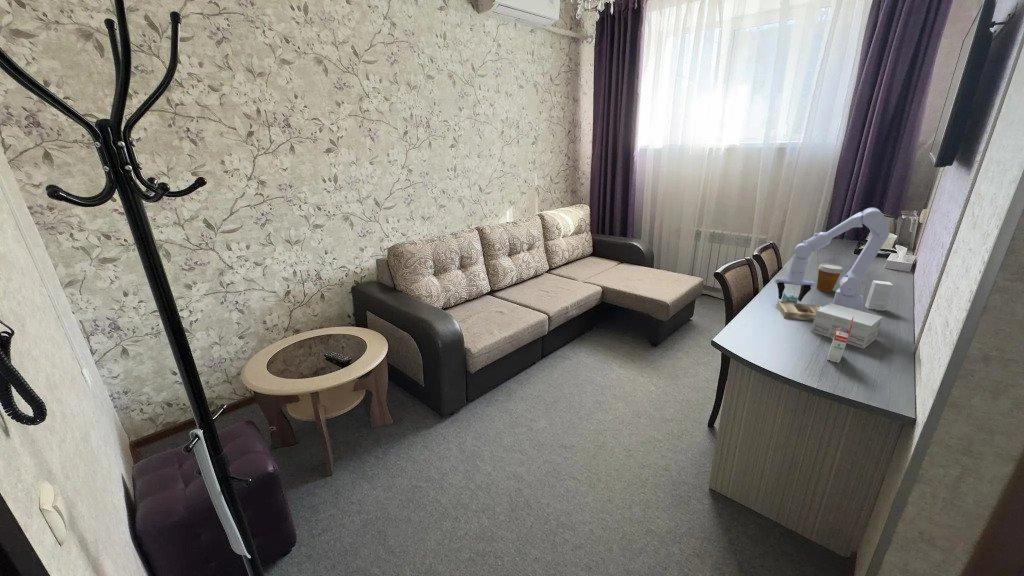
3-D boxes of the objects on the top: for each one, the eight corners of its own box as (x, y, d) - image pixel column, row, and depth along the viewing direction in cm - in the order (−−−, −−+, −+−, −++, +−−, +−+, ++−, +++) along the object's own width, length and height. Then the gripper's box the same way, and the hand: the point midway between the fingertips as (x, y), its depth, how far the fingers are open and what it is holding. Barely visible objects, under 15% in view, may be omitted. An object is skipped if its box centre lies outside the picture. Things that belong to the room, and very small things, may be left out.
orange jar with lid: (815, 291, 198) (822, 267, 194) (810, 285, 206) (816, 262, 202) (839, 294, 195) (846, 270, 191) (833, 287, 203) (840, 264, 199)
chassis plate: (819, 311, 177) (820, 305, 176) (829, 323, 166) (831, 316, 165) (776, 306, 181) (778, 300, 180) (783, 317, 171) (785, 311, 170)
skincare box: (881, 307, 181) (890, 282, 176) (884, 311, 177) (894, 285, 173) (864, 305, 183) (872, 279, 179) (867, 308, 179) (875, 283, 175)
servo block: (790, 300, 188) (793, 290, 187) (796, 307, 180) (799, 297, 179) (780, 299, 190) (783, 289, 188) (786, 306, 181) (789, 296, 180)
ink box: (826, 360, 139) (838, 321, 134) (828, 351, 145) (840, 313, 140) (839, 363, 137) (853, 324, 132) (841, 354, 143) (854, 316, 138)
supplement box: (875, 339, 154) (884, 316, 150) (863, 349, 146) (872, 325, 143) (823, 323, 166) (830, 301, 163) (810, 331, 159) (816, 309, 156)
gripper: (813, 269, 181) (805, 298, 186) (776, 266, 185) (769, 294, 190) (819, 274, 174) (810, 304, 179) (780, 271, 179) (772, 299, 184)
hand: (789, 299), depth 184 cm, fingers open, 7 cm apart
